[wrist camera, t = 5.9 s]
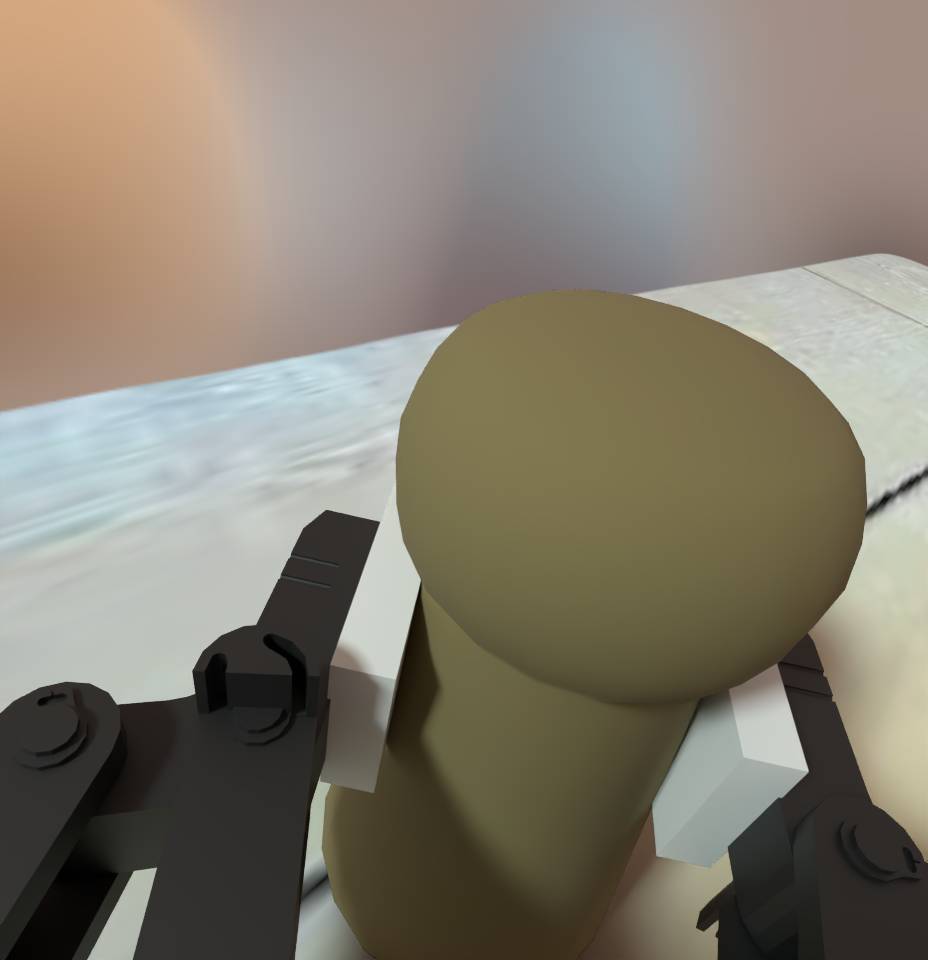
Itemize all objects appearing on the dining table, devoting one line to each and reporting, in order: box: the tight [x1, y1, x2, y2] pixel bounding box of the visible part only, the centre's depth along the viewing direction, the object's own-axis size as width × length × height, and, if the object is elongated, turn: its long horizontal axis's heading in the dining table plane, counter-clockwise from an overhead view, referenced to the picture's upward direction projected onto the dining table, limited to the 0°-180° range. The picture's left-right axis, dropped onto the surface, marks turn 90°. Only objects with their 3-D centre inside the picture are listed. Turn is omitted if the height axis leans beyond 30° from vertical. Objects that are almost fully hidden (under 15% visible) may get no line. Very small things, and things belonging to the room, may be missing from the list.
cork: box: [322, 290, 867, 960], centre depth 10 cm, size 6×6×11 cm
